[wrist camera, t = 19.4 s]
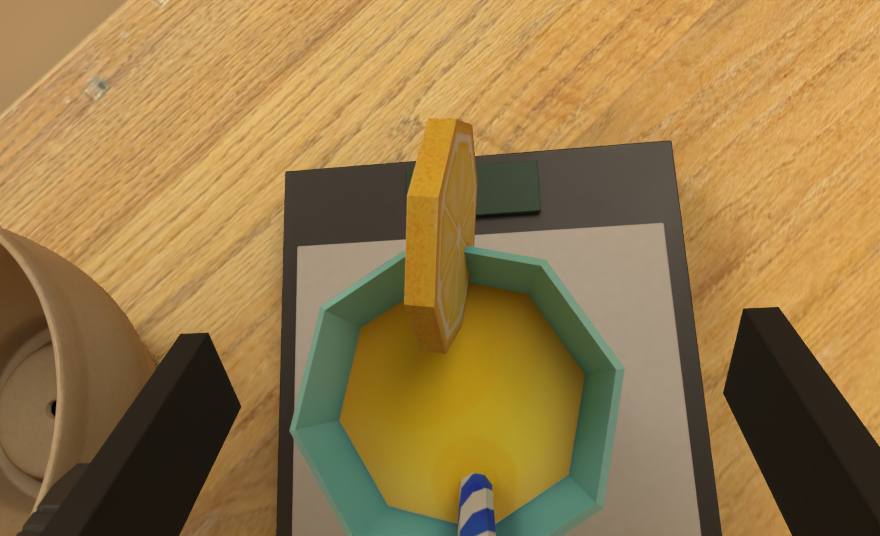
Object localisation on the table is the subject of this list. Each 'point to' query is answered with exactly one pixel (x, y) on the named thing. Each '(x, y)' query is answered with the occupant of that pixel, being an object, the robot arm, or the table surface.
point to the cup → (457, 380)
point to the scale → (584, 275)
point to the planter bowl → (57, 372)
